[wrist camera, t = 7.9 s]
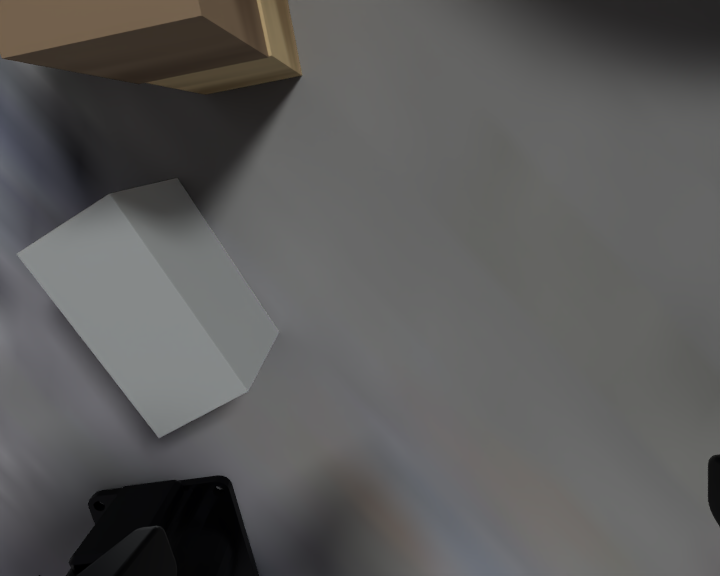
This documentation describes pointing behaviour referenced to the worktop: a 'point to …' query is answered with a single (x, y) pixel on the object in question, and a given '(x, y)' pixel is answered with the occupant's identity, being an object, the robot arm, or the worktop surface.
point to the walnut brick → (132, 36)
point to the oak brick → (253, 72)
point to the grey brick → (156, 302)
